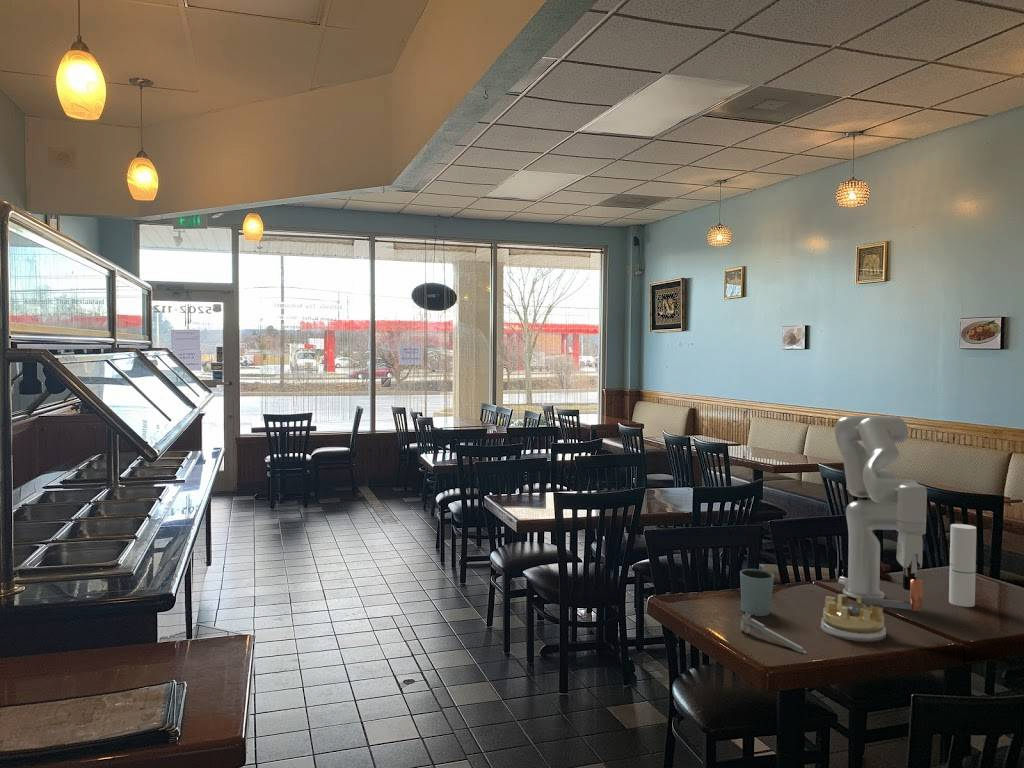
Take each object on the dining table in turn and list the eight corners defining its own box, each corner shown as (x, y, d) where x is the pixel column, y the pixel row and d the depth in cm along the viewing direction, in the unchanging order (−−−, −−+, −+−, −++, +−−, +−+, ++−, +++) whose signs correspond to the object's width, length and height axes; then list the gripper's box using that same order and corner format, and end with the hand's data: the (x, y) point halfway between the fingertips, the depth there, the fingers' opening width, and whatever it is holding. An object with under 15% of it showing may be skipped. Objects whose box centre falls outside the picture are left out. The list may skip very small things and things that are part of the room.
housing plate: (808, 627, 219) (808, 620, 219) (843, 617, 228) (843, 610, 228) (863, 646, 204) (863, 638, 204) (898, 634, 214) (898, 627, 214)
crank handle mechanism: (861, 608, 229) (862, 562, 228) (923, 631, 210) (924, 580, 209) (810, 618, 220) (811, 570, 220) (871, 642, 201) (872, 589, 201)
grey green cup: (745, 604, 240) (746, 567, 239) (777, 610, 234) (778, 572, 233) (734, 612, 231) (735, 574, 231) (768, 619, 225) (768, 580, 225)
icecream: (848, 554, 278) (882, 568, 264) (862, 548, 280) (897, 561, 267) (850, 571, 279) (884, 586, 266) (864, 564, 282) (899, 578, 268)
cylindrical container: (967, 600, 245) (969, 524, 244) (979, 607, 238) (980, 529, 237) (944, 599, 245) (946, 523, 245) (955, 606, 238) (957, 528, 238)
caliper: (740, 632, 215) (740, 611, 215) (742, 632, 216) (742, 610, 215) (805, 655, 199) (805, 631, 198) (807, 654, 199) (807, 631, 199)
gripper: (891, 520, 225) (889, 580, 226) (902, 531, 210) (901, 596, 211) (918, 521, 223) (917, 582, 224) (932, 533, 208) (930, 598, 209)
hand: (909, 589), depth 217 cm, fingers closed
